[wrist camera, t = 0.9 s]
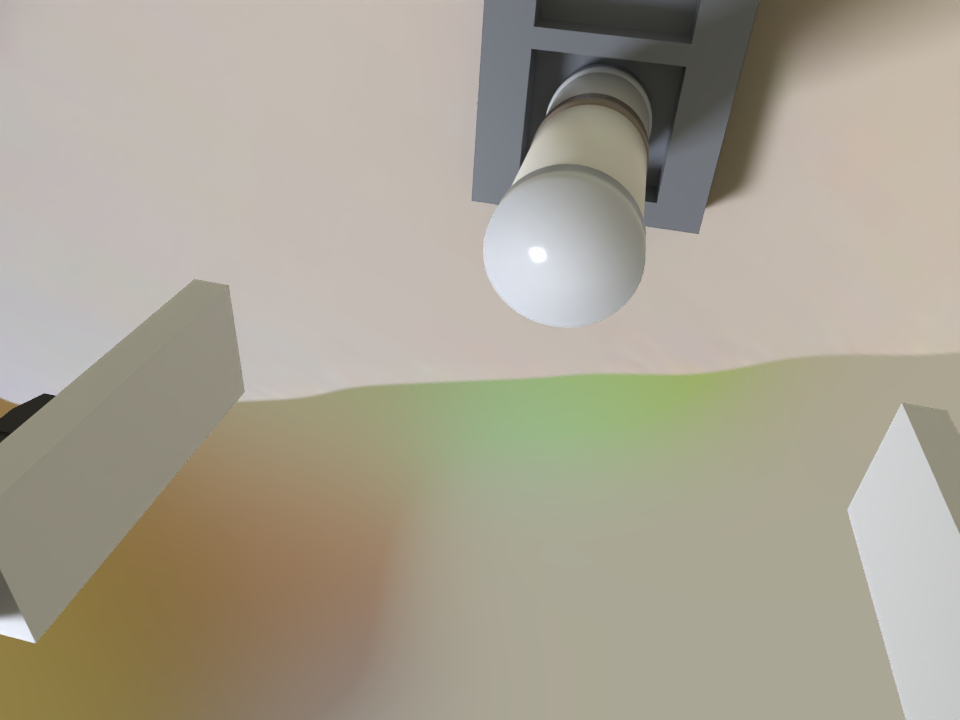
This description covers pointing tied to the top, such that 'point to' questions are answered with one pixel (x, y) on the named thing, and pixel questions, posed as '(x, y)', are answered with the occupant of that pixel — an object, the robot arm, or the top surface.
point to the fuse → (577, 204)
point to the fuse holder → (639, 49)
